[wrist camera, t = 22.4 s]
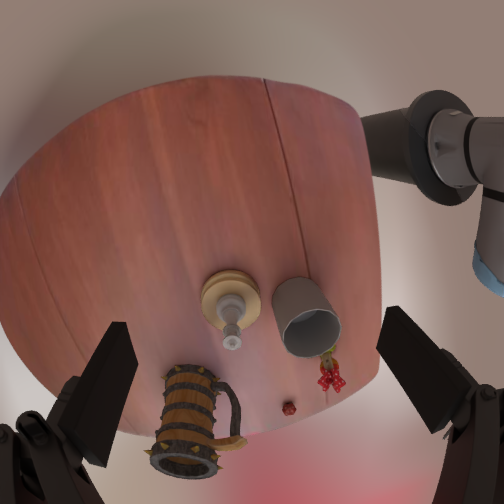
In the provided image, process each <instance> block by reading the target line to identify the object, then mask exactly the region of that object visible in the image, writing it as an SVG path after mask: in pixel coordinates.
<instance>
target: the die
mask: <svg viewBox="0 0 504 504" xmlns="http://www.w3.org/2000/svg"><path fill="white" fill-rule="evenodd" d="M282 411H283V413H284V414H285V416H287V415H293V414H294V413H295V411H296V408H295V406H294V405H293V403H291V404H285V405H284V406H283V409H282Z"/></svg>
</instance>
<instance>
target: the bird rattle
mask: <svg viewBox="0 0 504 504" xmlns="http://www.w3.org/2000/svg"><path fill="white" fill-rule="evenodd" d="M335 347H336V345H335V344H334V346H333V347H332V348H331V349H329V350H328V351H326V352H325V353H323V354H322V355H320V357H321V358H322V360H323V361H322V362H321V364H320V371H321V373H322V374H323V376H322V377H321V378H320V379H319V380H318V384H320V385H321V386H323V391H325V392H326V391H327V390H328V388H329V387H330V385H333V388H334V389H335V391H336V392H337V393H339V392H340V388H341V387H343V386H344V385H345V384H346V382H345V381H344V380H343V379H342V378H341V377H340V376H339V365H338V362H337V361H336V360H335V359H333V358H332V357H331V351H334V350H335Z"/></svg>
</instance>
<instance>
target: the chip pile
mask: <svg viewBox="0 0 504 504" xmlns="http://www.w3.org/2000/svg"><path fill="white" fill-rule="evenodd" d="M226 294H236V295H239V296H240V297H242V298H243V300H244V301H245V304H246V314H245V316H244V318H243V319H242V320H240V321H239V322H238V323H237V325H238V326H239V327H240V329H241V330H242V329H245V328H247V327H248V326H250V325H251V324H253V323H254V322H255V320H256V319H257V318H258V316H259V314H260V311H261V301H260V292H259V288H258V286H257V284H256V282H255V281H254V280H253V279H252V278H251V277H250V276H249V275H247V274H246V273H243V272H241V271H237V270H225V271H221V272H218V273H216V274H214V275H213V276H211V277H210V278H209V279H208V280H207V282H206V283H205V284H204V286H203V289H202V293H201V307H202V312H203V315H204V317H205V318H206V320H207V321H208V322H209V323H210V324H211V325H213V326H214V327H216V328H218V329H220V330H223V328H224V327H225V326H226V325H227V324H226V323H225V322H224V321H222V320H221V319H220V318H219V317H218V315H217V311H216V310H217V309H216V306H217V302H218V300H219V299H220V298H221V297H222V296H224V295H226Z"/></svg>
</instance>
